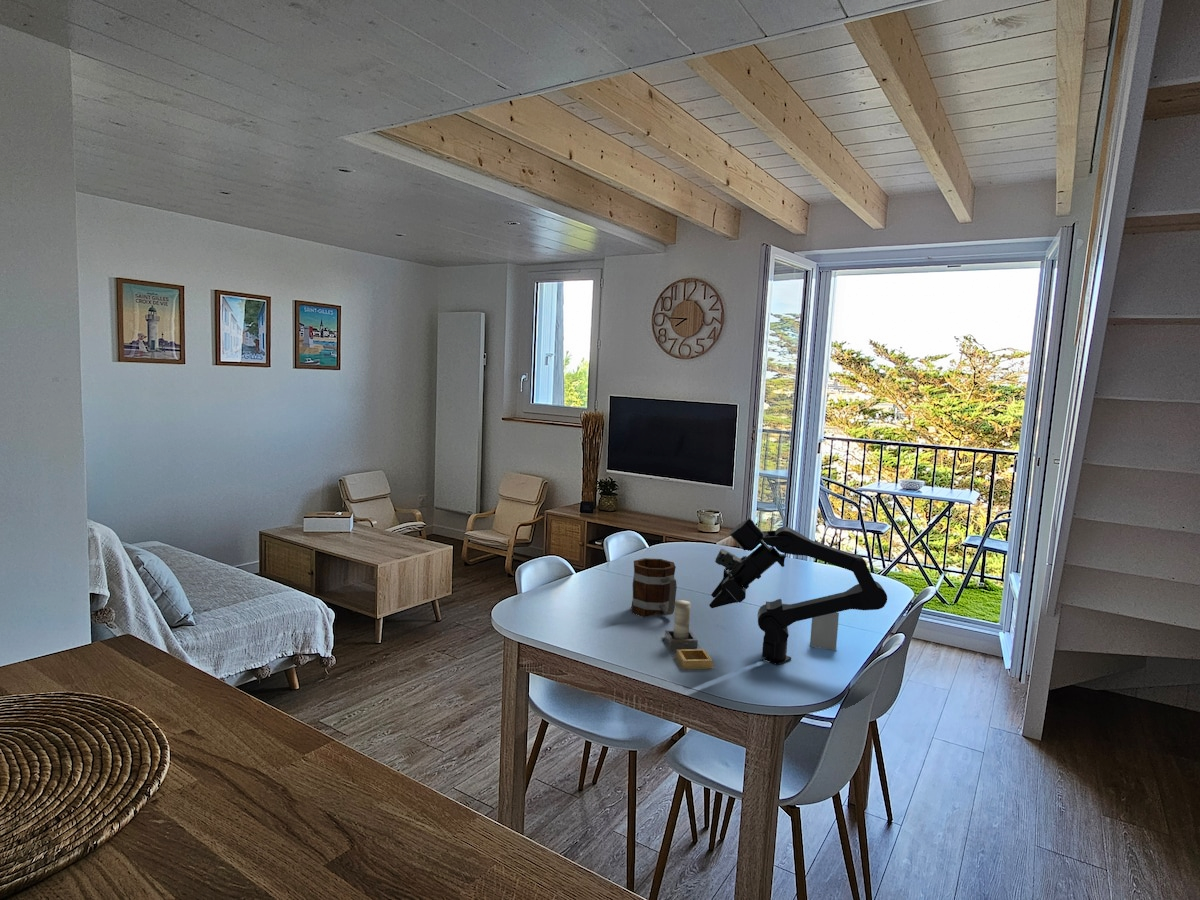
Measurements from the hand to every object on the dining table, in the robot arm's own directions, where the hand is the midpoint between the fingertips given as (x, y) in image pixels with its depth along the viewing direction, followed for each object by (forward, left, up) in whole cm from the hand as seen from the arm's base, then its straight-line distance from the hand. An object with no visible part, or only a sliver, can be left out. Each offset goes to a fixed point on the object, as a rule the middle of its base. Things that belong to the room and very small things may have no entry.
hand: (711, 601), depth 183 cm
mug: (-10, -28, -14) cm, 33 cm away
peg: (+4, -6, -12) cm, 14 cm away
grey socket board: (+8, -1, -13) cm, 16 cm away
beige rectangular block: (-29, +17, -14) cm, 36 cm away
